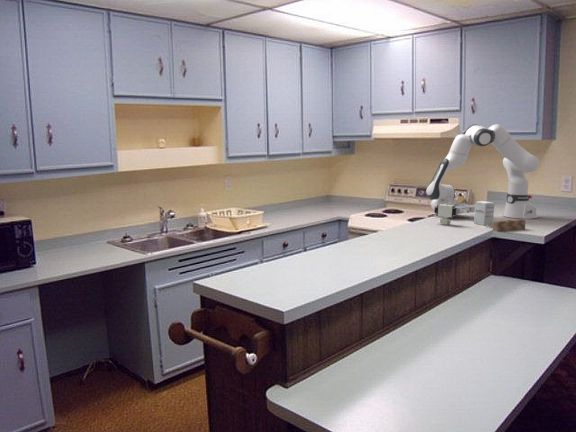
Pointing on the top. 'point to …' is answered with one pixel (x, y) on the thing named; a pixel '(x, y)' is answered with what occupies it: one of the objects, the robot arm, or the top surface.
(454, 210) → the pneumatic valve
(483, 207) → the supplement box
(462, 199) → the rock
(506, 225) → the walnut dock
